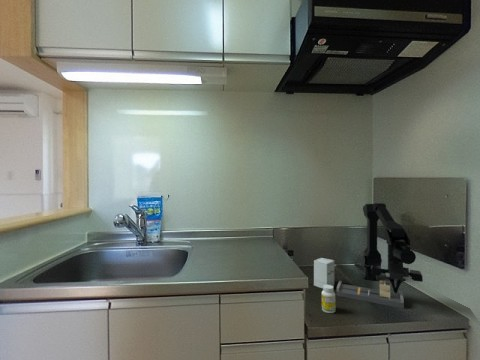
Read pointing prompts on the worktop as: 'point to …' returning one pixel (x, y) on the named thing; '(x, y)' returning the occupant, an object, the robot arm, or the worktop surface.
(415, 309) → the worktop surface
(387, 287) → the fader knob
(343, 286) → the fader console
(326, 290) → the supplement bottle
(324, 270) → the supplement box
